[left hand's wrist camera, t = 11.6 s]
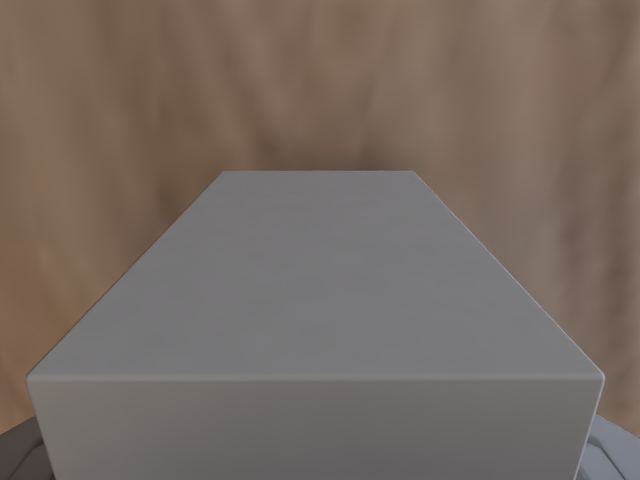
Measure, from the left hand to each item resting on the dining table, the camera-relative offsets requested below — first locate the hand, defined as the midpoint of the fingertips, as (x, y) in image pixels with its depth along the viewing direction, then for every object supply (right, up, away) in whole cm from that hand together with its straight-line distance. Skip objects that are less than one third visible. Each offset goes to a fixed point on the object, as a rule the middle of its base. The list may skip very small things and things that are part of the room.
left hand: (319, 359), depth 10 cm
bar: (0, -6, +6) cm, 9 cm away
